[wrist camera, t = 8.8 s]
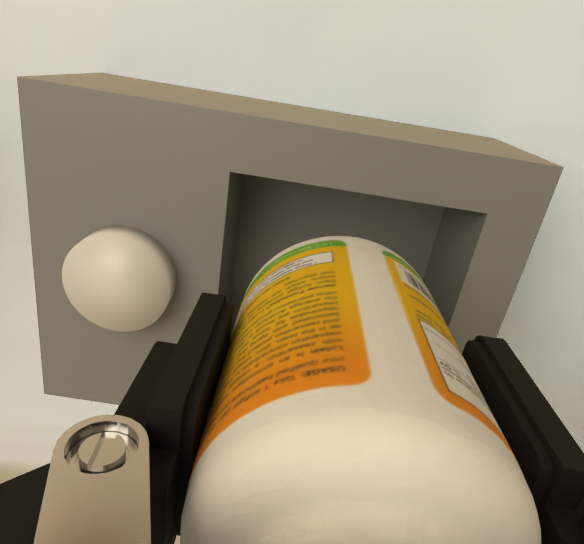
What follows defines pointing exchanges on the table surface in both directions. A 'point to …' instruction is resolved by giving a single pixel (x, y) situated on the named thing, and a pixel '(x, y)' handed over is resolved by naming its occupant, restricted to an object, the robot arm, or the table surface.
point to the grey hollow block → (245, 211)
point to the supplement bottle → (350, 416)
